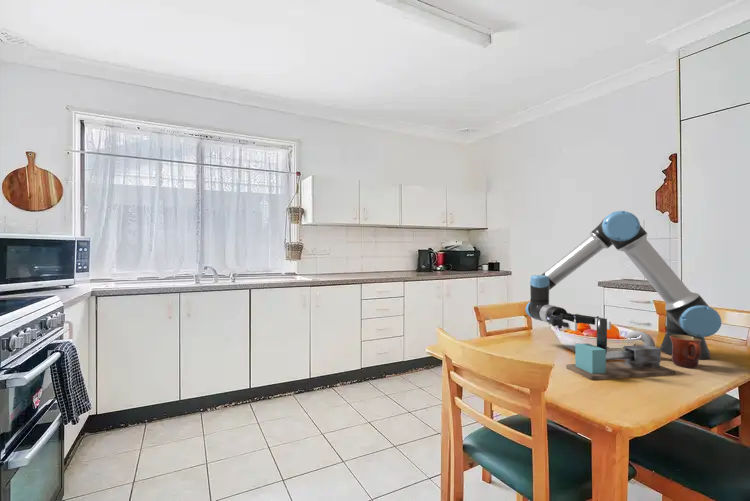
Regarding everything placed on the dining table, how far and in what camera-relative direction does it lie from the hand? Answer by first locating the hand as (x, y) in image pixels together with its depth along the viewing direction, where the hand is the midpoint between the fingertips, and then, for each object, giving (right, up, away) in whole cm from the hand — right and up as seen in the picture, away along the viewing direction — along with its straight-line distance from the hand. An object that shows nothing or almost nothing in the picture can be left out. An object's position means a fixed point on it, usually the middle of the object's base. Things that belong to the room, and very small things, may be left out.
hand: (593, 326), depth 129 cm
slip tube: (+5, -11, -3) cm, 13 cm away
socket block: (-4, -14, -4) cm, 15 cm away
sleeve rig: (+8, -15, -2) cm, 17 cm away
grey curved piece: (+27, -15, +15) cm, 35 cm away
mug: (+35, -15, +2) cm, 39 cm away
